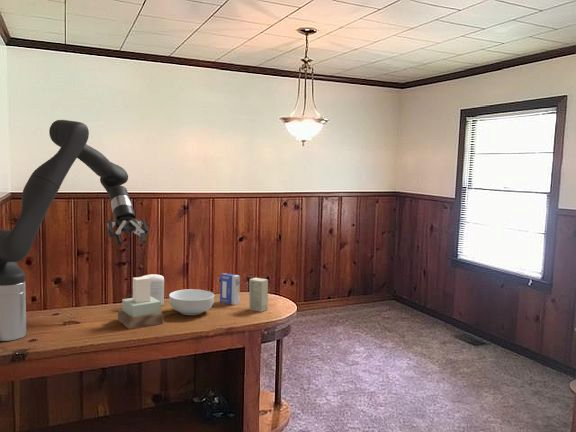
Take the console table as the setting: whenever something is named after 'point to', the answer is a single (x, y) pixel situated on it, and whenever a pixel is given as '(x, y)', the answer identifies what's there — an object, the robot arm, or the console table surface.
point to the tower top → (141, 307)
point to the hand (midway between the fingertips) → (132, 244)
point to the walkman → (229, 288)
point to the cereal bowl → (191, 301)
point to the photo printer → (157, 287)
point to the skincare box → (258, 294)
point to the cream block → (141, 289)
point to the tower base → (139, 320)
